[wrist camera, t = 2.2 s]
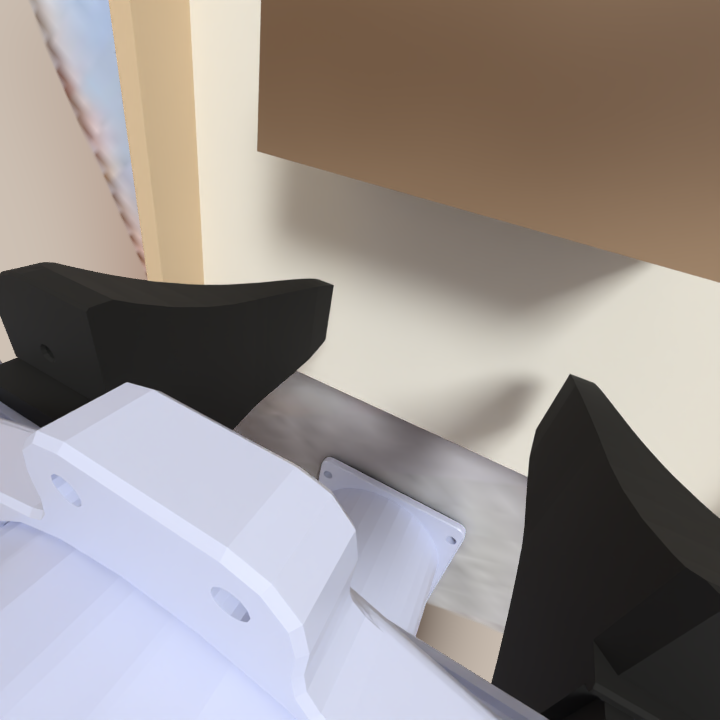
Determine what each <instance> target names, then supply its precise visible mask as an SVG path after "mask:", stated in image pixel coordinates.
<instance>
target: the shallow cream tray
mask: <svg viewBox="0 0 720 720" xmlns="http://www.w3.org/2000/svg"><path fill="white" fill-rule="evenodd" d="M109 7H110V14H111V21H112V28H113V35H114V42H115V49H116V57H117V64H118V71H119V78H120V85H121V92H122V99H123V107H124V114H125V121H126V128H127V135H128V142H129V149H130V156H131V164H132V171H133V178H134V185H135V192H136V199H137V206H138V213H139V221H140V228H141V235H142V242H143V249H144V256H145V263H146V270H147V278H148V281H156V282H168V283H180V284H199V285H227V284H244V283H259V282H270V281H280V280H291V279H307V278H312V279H319V280H322V281H324V282H327V283H330V284H332V285H334V288H333V294H332V301H331V307H330V314H329V320H328V327H327V334H326V340H325V341H324V342H323V344H322V345H321V346H320V347H319V349H318V350H317V351H316V352H315V353H314V354H313V356H312V357H311V358H310V359H309V360H308V361H307V362H306V363H305V364H303V365H302V366H301V367H300V368H299V369H298V370H296V371H298V372H300V373H303V374H305V375H307V376H309V377H311V378H313V379H316V380H318V381H320V382H322V383H324V384H327V385H329V386H331V387H333V388H335V389H337V390H340V391H342V392H344V393H346V394H348V395H350V396H353V397H355V398H357V399H359V400H361V401H364V402H366V403H368V404H370V405H372V406H374V407H377V408H379V409H381V410H383V411H385V412H387V413H390V414H392V415H394V416H396V417H398V418H400V419H403V420H405V421H407V422H409V423H411V424H414V425H416V426H418V427H420V428H422V429H424V430H427V431H429V432H431V433H433V434H435V435H437V436H440V437H442V438H444V439H446V440H448V441H451V442H453V443H455V444H457V445H459V446H461V447H464V448H466V449H468V450H470V451H472V452H474V453H477V454H479V455H481V456H483V457H485V458H488V459H490V460H492V461H494V462H496V463H498V464H501V465H503V466H505V467H507V468H509V469H511V470H514V471H516V472H518V473H520V474H522V475H524V476H527V477H528V467H529V457H530V452H531V448H532V444H533V440H534V435H535V431H536V428H537V427H538V425H539V424H540V422H541V420H542V419H543V417H544V415H545V414H546V412H547V410H548V409H549V407H550V406H551V404H552V402H553V401H554V399H555V397H556V396H557V394H558V392H559V391H560V389H561V388H562V386H563V384H564V383H565V381H566V379H567V378H568V376H569V375H570V374H572V375H575V376H577V377H580V378H583V379H585V380H588V381H591V382H593V383H595V384H596V385H597V386H598V387H599V388H600V389H601V391H602V392H603V393H604V394H605V395H606V397H607V398H608V399H609V400H610V402H611V403H612V404H613V406H614V407H615V408H616V410H617V411H618V412H619V413H620V415H621V416H622V417H623V419H624V420H625V421H626V422H627V424H628V425H629V426H630V427H631V429H632V430H633V431H634V432H635V434H636V435H637V436H638V437H639V438H640V440H641V441H642V442H643V443H644V444H645V445H646V447H647V448H648V449H649V450H650V451H651V452H652V453H653V454H654V455H655V457H656V458H657V459H658V460H659V461H660V462H661V463H662V464H663V465H664V466H665V468H666V469H667V470H668V471H669V472H670V473H671V474H672V475H673V476H674V477H675V478H676V479H677V480H678V481H679V482H680V483H682V484H683V485H684V486H685V487H686V488H687V489H688V490H689V491H690V492H691V493H692V494H693V495H694V496H695V497H696V498H697V499H698V500H699V501H700V502H702V503H703V504H704V505H705V506H706V507H707V508H708V509H709V510H711V511H712V512H713V513H714V514H715V515H716V516H718V517H719V518H720V283H719V282H715V281H712V280H708V279H705V278H701V277H698V276H694V275H691V274H687V273H684V272H680V271H676V270H673V269H669V268H666V267H662V266H659V265H655V264H652V263H648V262H645V261H641V260H638V259H634V258H631V257H627V256H624V255H620V254H617V253H613V252H610V251H606V250H603V249H599V248H596V247H592V246H589V245H585V244H581V243H578V242H574V241H571V240H567V239H564V238H560V237H557V236H553V235H550V234H546V233H543V232H539V231H536V230H532V229H529V228H525V227H522V226H518V225H515V224H511V223H508V222H504V221H501V220H497V219H494V218H490V217H486V216H483V215H479V214H476V213H472V212H469V211H465V210H462V209H458V208H455V207H451V206H448V205H444V204H441V203H437V202H434V201H430V200H427V199H423V198H420V197H416V196H413V195H409V194H406V193H402V192H399V191H395V190H391V189H388V188H384V187H381V186H377V185H374V184H370V183H367V182H363V181H360V180H356V179H353V178H349V177H346V176H342V175H339V174H335V173H332V172H328V171H325V170H321V169H318V168H314V167H311V166H307V165H304V164H300V163H296V162H293V161H289V160H286V159H282V158H279V157H275V156H272V155H268V154H265V153H261V152H258V151H257V134H258V95H259V56H260V18H261V0H109Z"/></svg>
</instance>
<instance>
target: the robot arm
mask: <svg viewBox="0 0 720 720" xmlns="http://www.w3.org/2000/svg"><path fill="white" fill-rule="evenodd" d="M333 288H334V285H332V284H330V283H327V282H324V281H322V280H319V279H312V278H307V279H291V280H280V281H270V282H259V283H244V284H227V285H199V284H180V283H168V282H156V281H147V280H139V279H132V278H126V277H120V276H114V275H108V274H103V273H98V272H93V271H88V270H84V269H80V268H75V267H70V266H66V265H61V264H58V263H49V262H43V263H38V264H33V265H29V266H25V267H20V268H17V269H12V270H7V271H3V272H1V273H0V316H1V319H2V321H3V324H4V327H5V329H6V331H7V334H8V336H9V339H10V342H11V344H12V347H13V349H14V352H15V354H16V356H17V357H18V358H15V359H13V360H10V361H8V362H5V363H2V362H1V361H0V720H720V518H719V517H718V516H716V515H715V514H714V513H713V512H712V511H711V510H709V509H708V508H707V507H706V506H705V505H704V504H703V503H702V502H700V501H699V500H698V499H697V498H696V497H695V496H694V495H693V494H692V493H691V492H690V491H689V490H688V489H687V488H686V487H685V486H684V485H683V484H682V483H680V482H679V481H678V480H677V479H676V478H675V477H674V476H673V475H672V474H671V473H670V472H669V471H668V470H667V469H666V468H665V466H664V465H663V464H662V463H661V462H660V461H659V460H658V459H657V458H656V457H655V455H654V454H653V453H652V452H651V451H650V450H649V449H648V448H647V447H646V445H645V444H644V443H643V442H642V441H641V440H640V438H639V437H638V436H637V435H636V434H635V432H634V431H633V430H632V429H631V427H630V426H629V425H628V424H627V422H626V421H625V420H624V419H623V417H622V416H621V415H620V413H619V412H618V411H617V410H616V408H615V407H614V406H613V404H612V403H611V402H610V400H609V399H608V398H607V397H606V395H605V394H604V393H603V392H602V391H601V389H600V388H599V387H598V386H597V385H596V384H595V383H593V382H591V381H588V380H585V379H583V378H580V377H577V376H575V375H572V374H570V375H569V376H568V378H567V379H566V381H565V383H564V384H563V386H562V388H561V389H560V391H559V392H558V394H557V396H556V397H555V399H554V401H553V402H552V404H551V406H550V407H549V409H548V410H547V412H546V414H545V415H544V417H543V419H542V420H541V422H540V424H539V425H538V427H537V428H536V431H535V435H534V440H533V444H532V448H531V452H530V457H529V467H528V481H527V496H526V511H525V527H524V536H523V544H522V549H521V554H520V559H519V565H518V570H517V575H516V580H515V585H514V589H513V594H512V599H511V603H510V608H509V613H508V617H507V621H506V626H505V630H504V634H503V638H502V643H501V647H500V651H499V655H498V660H497V664H496V667H495V671H494V675H493V679H492V683H489V682H488V681H486V680H485V679H483V678H481V677H480V676H478V675H476V674H475V673H473V672H472V671H470V670H468V669H467V668H465V667H464V666H462V665H460V664H459V663H457V662H456V661H454V660H452V659H451V658H449V657H448V656H446V655H444V654H443V653H441V652H439V651H438V650H436V649H435V648H433V647H431V646H430V645H428V644H427V643H425V642H423V641H422V640H420V639H418V638H417V637H416V633H417V630H418V627H419V623H420V620H421V617H422V613H423V611H424V607H425V604H426V602H427V600H428V599H429V597H430V595H431V594H432V592H433V590H434V589H435V587H436V585H437V584H438V582H439V580H440V579H441V577H442V575H443V574H444V572H445V570H446V569H447V567H448V565H449V564H450V562H451V560H452V559H453V557H454V555H455V554H456V552H457V550H458V549H459V547H460V545H461V544H462V542H463V540H464V538H465V535H466V530H465V528H464V527H463V525H461V524H460V523H458V522H456V521H454V520H452V519H451V518H449V517H447V516H445V515H443V514H441V513H439V512H437V511H435V510H433V509H431V508H429V507H427V506H425V505H423V504H421V503H420V502H418V501H416V500H414V499H412V498H410V497H408V496H406V495H404V494H402V493H400V492H398V491H396V490H394V489H392V488H391V487H389V486H387V485H385V484H383V483H381V482H379V481H377V480H375V479H373V478H371V477H369V476H367V475H365V474H363V473H362V472H360V471H358V470H356V469H354V468H352V467H350V466H348V465H346V464H344V463H342V462H340V461H338V460H336V459H334V458H332V457H327V458H325V459H324V461H323V462H322V465H321V470H320V475H319V481H318V480H317V479H315V478H314V477H313V476H311V475H310V474H309V473H308V472H306V471H305V470H304V469H302V468H301V467H300V466H298V465H296V464H294V463H292V462H291V461H289V460H287V459H285V458H283V457H281V456H279V455H278V454H276V453H274V452H272V451H270V450H268V449H266V448H265V447H263V446H261V445H259V444H257V443H255V442H253V441H252V440H250V439H248V438H246V437H244V436H242V435H240V434H239V433H237V432H235V431H233V429H234V428H235V427H236V426H237V425H238V424H239V423H240V422H241V420H242V419H243V418H244V417H245V416H246V415H247V414H248V413H249V412H250V411H251V410H252V409H253V408H254V407H255V406H256V405H257V404H258V403H259V402H260V401H261V400H262V399H263V398H264V397H266V396H267V395H268V394H269V393H270V392H272V391H273V390H274V389H275V388H276V387H277V386H279V385H280V384H281V383H282V382H283V381H285V380H286V379H287V378H288V377H289V376H291V375H292V374H293V373H294V372H295V371H296V370H298V369H299V368H300V367H301V366H302V365H303V364H305V363H306V362H307V361H308V360H309V359H310V358H311V357H312V356H313V354H314V353H315V352H316V351H317V350H318V349H319V347H320V346H321V345H322V344H323V342H324V341H325V340H326V334H327V327H328V320H329V314H330V307H331V301H332V294H333Z"/></svg>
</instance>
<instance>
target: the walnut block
mask: <svg viewBox="0 0 720 720" xmlns="http://www.w3.org/2000/svg"><path fill="white" fill-rule="evenodd" d="M257 151H258V152H261V153H265V154H268V155H272V156H275V157H279V158H282V159H286V160H289V161H293V162H296V163H300V164H304V165H307V166H311V167H314V168H318V169H321V170H325V171H328V172H332V173H335V174H339V175H342V176H346V177H349V178H353V179H356V180H360V181H363V182H367V183H370V184H374V185H377V186H381V187H384V188H388V189H391V190H395V191H399V192H402V193H406V194H409V195H413V196H416V197H420V198H423V199H427V200H430V201H434V202H437V203H441V204H444V205H448V206H451V207H455V208H458V209H462V210H465V211H469V212H472V213H476V214H479V215H483V216H486V217H490V218H494V219H497V220H501V221H504V222H508V223H511V224H515V225H518V226H522V227H525V228H529V229H532V230H536V231H539V232H543V233H546V234H550V235H553V236H557V237H560V238H564V239H567V240H571V241H574V242H578V243H581V244H585V245H589V246H592V247H596V248H599V249H603V250H606V251H610V252H613V253H617V254H620V255H624V256H627V257H631V258H634V259H638V260H641V261H645V262H648V263H652V264H655V265H659V266H662V267H666V268H669V269H673V270H676V271H680V272H684V273H687V274H691V275H694V276H698V277H701V278H705V279H708V280H712V281H715V282H719V283H720V0H261V18H260V56H259V95H258V134H257Z"/></svg>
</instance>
